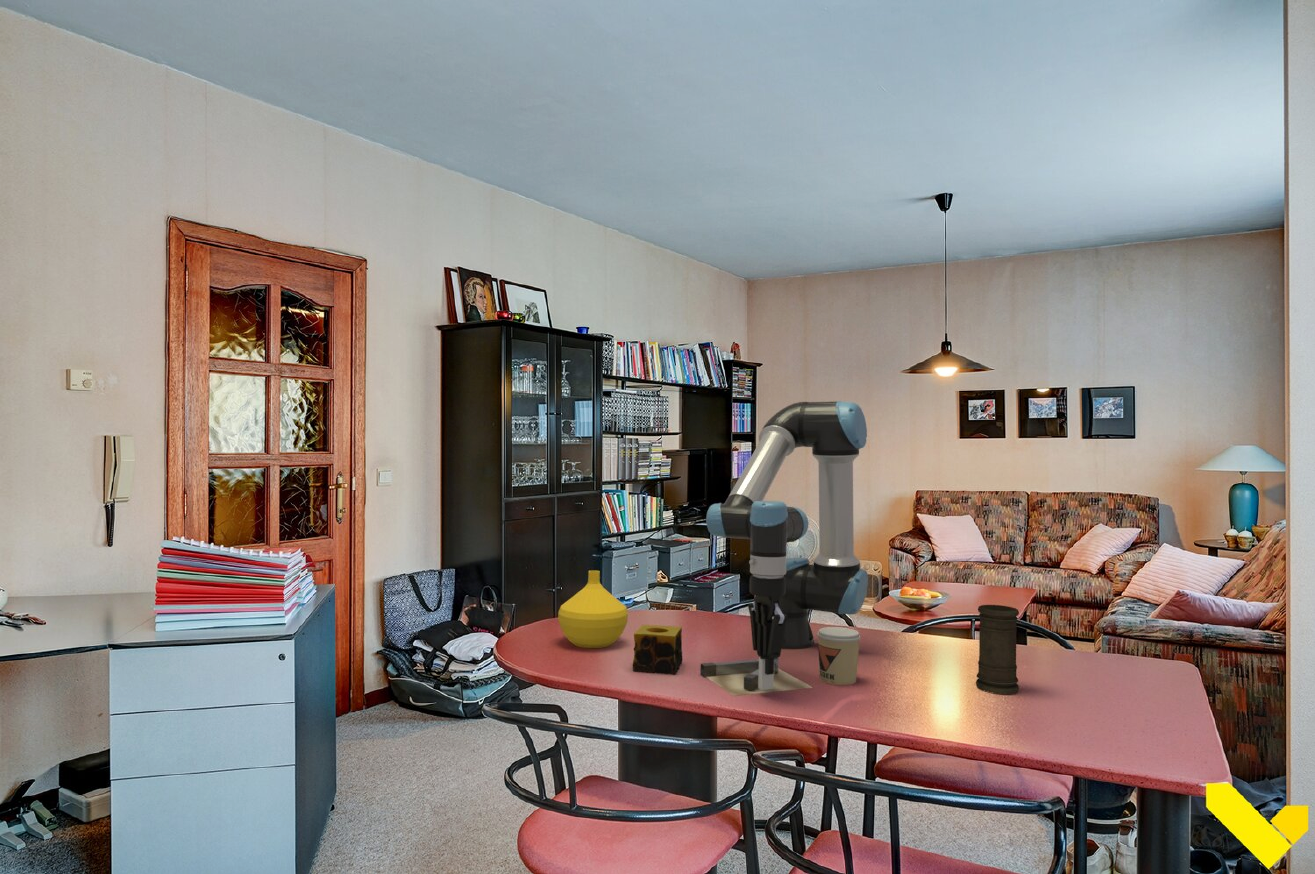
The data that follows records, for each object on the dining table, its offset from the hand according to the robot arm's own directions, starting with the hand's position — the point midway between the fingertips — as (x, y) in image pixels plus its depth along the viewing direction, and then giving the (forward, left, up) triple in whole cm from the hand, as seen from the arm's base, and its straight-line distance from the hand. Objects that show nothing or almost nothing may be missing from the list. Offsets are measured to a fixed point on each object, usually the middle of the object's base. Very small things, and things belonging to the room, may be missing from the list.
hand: (765, 688), depth 170 cm
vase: (+21, -56, -3) cm, 60 cm away
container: (-54, +8, -3) cm, 55 cm away
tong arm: (-4, -10, -1) cm, 11 cm away
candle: (+14, -26, -3) cm, 30 cm away
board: (-3, -10, -3) cm, 11 cm away
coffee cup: (-21, -5, -3) cm, 22 cm away
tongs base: (-2, -15, -1) cm, 15 cm away
